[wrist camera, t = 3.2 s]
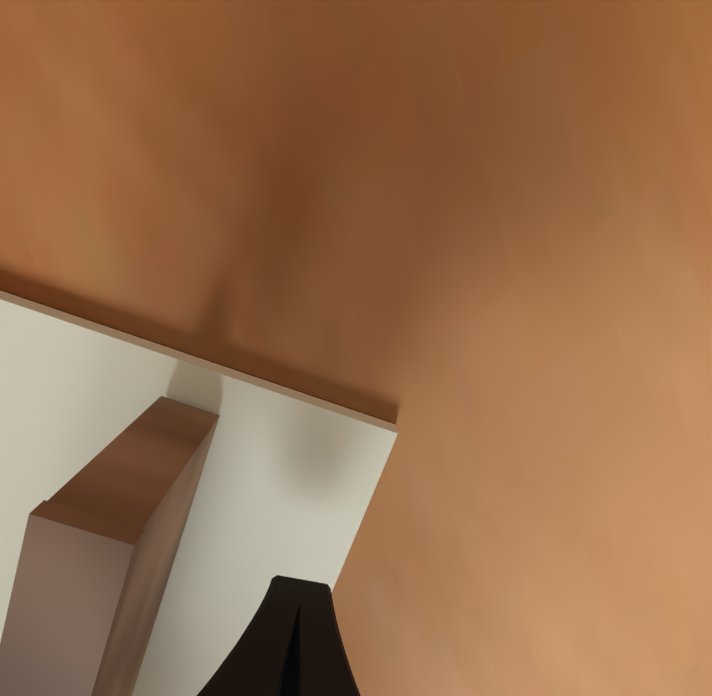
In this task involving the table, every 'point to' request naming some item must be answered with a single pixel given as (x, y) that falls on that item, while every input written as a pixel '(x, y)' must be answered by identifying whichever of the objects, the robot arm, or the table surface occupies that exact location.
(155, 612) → the brown wooden block
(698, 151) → the table surface
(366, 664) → the table surface
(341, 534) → the board
